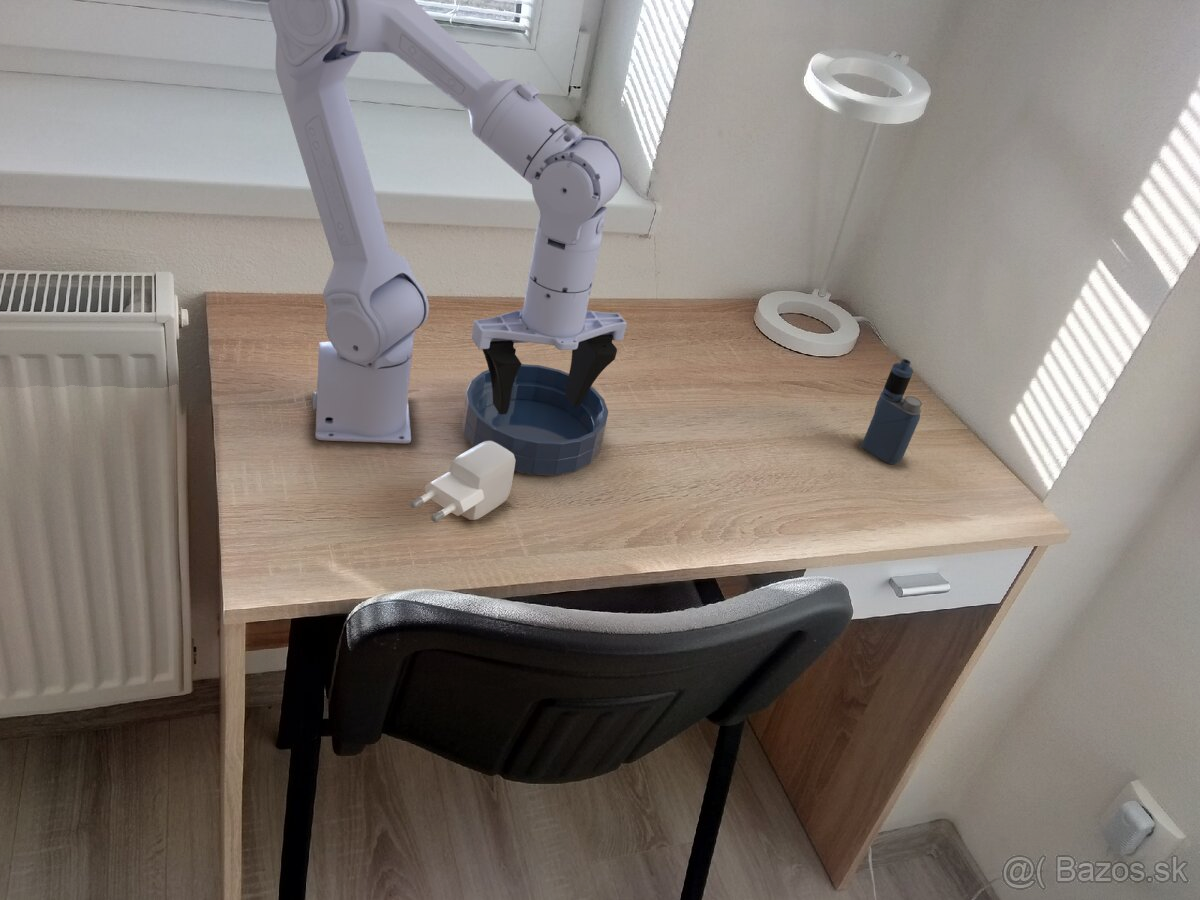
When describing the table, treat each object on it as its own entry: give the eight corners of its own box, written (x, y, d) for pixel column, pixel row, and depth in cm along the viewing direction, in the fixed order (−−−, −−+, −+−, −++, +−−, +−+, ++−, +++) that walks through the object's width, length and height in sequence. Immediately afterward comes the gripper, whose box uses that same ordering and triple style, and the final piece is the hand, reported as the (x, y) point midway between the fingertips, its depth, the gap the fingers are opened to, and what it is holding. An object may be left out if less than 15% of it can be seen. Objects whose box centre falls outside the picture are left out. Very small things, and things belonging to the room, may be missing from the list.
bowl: (469, 476, 105) (474, 440, 102) (456, 394, 117) (460, 360, 114) (612, 481, 109) (621, 446, 106) (585, 401, 121) (593, 368, 118)
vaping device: (867, 438, 126) (902, 353, 119) (904, 461, 123) (942, 375, 116) (856, 445, 124) (890, 358, 117) (893, 468, 121) (930, 381, 115)
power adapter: (438, 554, 95) (444, 504, 92) (399, 528, 97) (404, 478, 93) (515, 502, 103) (524, 455, 100) (478, 479, 105) (485, 432, 102)
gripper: (500, 303, 87) (479, 436, 94) (652, 296, 93) (621, 421, 101) (472, 263, 92) (454, 393, 99) (618, 260, 98) (591, 382, 106)
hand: (536, 404), depth 100 cm, fingers open, 7 cm apart
